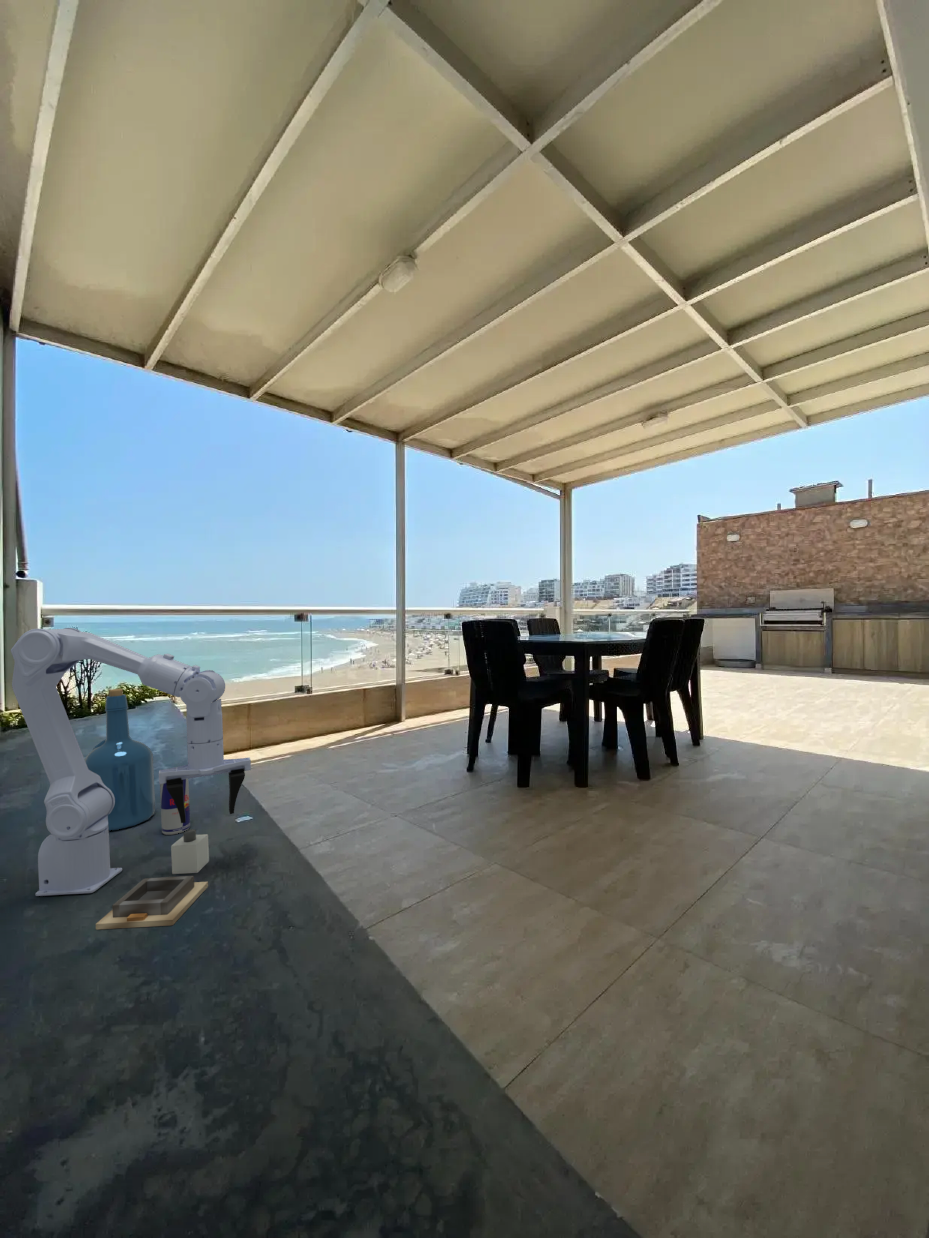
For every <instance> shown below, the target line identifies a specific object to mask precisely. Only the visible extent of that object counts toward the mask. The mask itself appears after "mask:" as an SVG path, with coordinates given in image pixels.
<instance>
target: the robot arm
mask: <svg viewBox="0 0 929 1238" xmlns="http://www.w3.org/2000/svg"><path fill="white" fill-rule="evenodd" d="M10 653H11V655H12V658H13V660H14V664H13V672H12V673H13V674H12V678H11V679H12V680H11V686H12V691H13V694H14V697H15V699H16V701H17V704H18V707H19V708H20V711H21V713H22V716H23V719H24V721H25V723H26V725H27V728H28V731H29V734H30V737H31V739H32V742H33V744H34V746H35V750H36V751H37V754H38V756H39V759H40V761H41V764H42V767H43V770H44V772H45V774H46V777H47V779H48V782H49V785H50V786H49V788H48V791H47V793H46V795H45V798H44V801H43V803H44V806H45V809H46V816H45V817H46V818H45V825H46V829H47V831H48V832H49V833H50V834H49V835H48V836H46V838H44V840H43V841H42V843H41V845H40V846H39V849H38V855H37V869H38V870H37V871H38V888H39V889H38V890H37V892H35V896H36V897H39V896H40V897H43V896H44V897H45V896H59V895H60V896H61V895H79V894H92V893H94V892H96V891H97V890H99V889H100V888H101V887H102V886H104V885H105V884H106V883H108V882H109V881H111V880H112V879H113V878H114V877H115V876H117V875H118V874H120V873H121V872H122V871H123V868H122V867H111V859H110V855H111V852H110V835H109V833H110V831H109V829H108V814H110V812H111V811H112V810H113V808H114V805H115V797H114V794H113V793H112V791H111V790H110V789H109V788H107V787H106V786H105V785H104V784H103V782H102V780H101V777H100V776H99V775H97V774H96V773H94V772H92V771H90V770H89V769H88V767H87V765H86V762H85V756H84V755H83V752H82V749H81V747H80V744H79V742H78V739H77V737H76V735H75V731H74V729H73V727H72V724H71V722H70V719H69V717H68V715H67V711H66V709H65V706H64V704H63V701H62V699H61V696H60V693H59V691H58V689H57V685H58V684H59V682H60V681H61V680H62V678H63V677H64V675H65V673H66V672H67V671H69V670H70V669H71V668H73V667H74V666H75V665H77V664H78V663H79V662H80V661H83V660H84V661H85V660H93V661H95V662H98V663H100V664H104V665H108V666H111V667H114V668H116V669H120V670H123V671H126V672H129V673H132V674H135V675H137V676H138V678H139V680H140V682H141V683H142V685H143V686H147V687H149V688H152V689H155V690H157V691H160V692H163V693H165V694H168V695H170V696H174V697H176V698H180V699H181V702H183V704H185V706H186V707H185V708H186V709H185V710H186V740H187V741H186V744H187V746H186V749H187V764H184V765H180V766H176V767H175V766H174V767H171V768H165V769H159V770H158V784H159V785H160V784H163V783H167V784H166V785H167V786H166V788H167V790H168V792H169V794H170V795H171V797H172V799H173V800H174V802H175V804H176V807H177V809H178V812H179V815H180V819H181V823H186V814H185V805H184V790H183V779H188V780H189V779H193V778H201V777H207V776H214V775H221V774H227V773H228V786H229V787H228V789H229V796H228V812H229V815H233V814H235V806H236V801H237V798H238V795H239V793H240V792H239V791H240V790H241V787H242V784H243V782H244V781H245V776H246V772H247V771H248V772H249V771H251V770H252V766H251V765H252V763H251V762H252V761H251V757H240V758H227V759H224V758H225V757H224V754H225V753H224V731H223V729H224V728H223V726H224V725H223V723H224V722H223V721H224V720H223V711H222V709H223V708H222V699H221V698H222V696H223V695H224V693H225V690H226V683H225V680H224V678H223V676H222V675H220V674H219V673H217V672H216V671H215V670H211V669H207V670H203V671H201V670H200V669H201V666H200V665H196V664H195V665H192V666H191V665H189V664H186V663H184V662H181V661H179V660H176V659H175V655H173V654H170V653H164V654H161V653H160V654H159V653H158V654H155V655H152V656H150V657H148V656H145V655H143V654H140V653H138V652H136V651H134V650H131V649H129V648H126V647H124V646H121V645H120V644H118V643H114V642H112V641H110V640H108V639H106V638H103V637H100V636H98V635H96V634H94V633H91V632H87V631H81V630H80V629H78V628H75V627H74V628H73V627H65V628H50V629H49V628H48V629H47V628H32V629H30V630H27V631H26V632H24V633H23V634H22V635H20V637H19V638H18V640H17V641H16V642H15V644H14V645H13V646H12V648H11V649H10Z"/></svg>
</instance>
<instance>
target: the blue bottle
mask: <svg viewBox="0 0 929 1238" xmlns="http://www.w3.org/2000/svg"><path fill="white" fill-rule="evenodd" d="M108 693H109V694H108V695H107V696H106V699H105V707H104V708H105V709H104V711H105V713H106V715H105V719H106V720H105V721H106V722H105V723H106V724H105V725H106V726H105V727H106V728H105V729H106V730H105V738H106V739H104V740H102V741H101V742H99V743H98V744H96V745H95V746H94V747H93V748H92V750H91V751H89V753H88V754H87V755H86V756H85V757H84V759H85V762H86V765H87V767H88V769H89V770H90V771H92V772H94V773H96V774H97V775H99V776H100V777H101V780H102V782H103V784H104V785H105V786H106V787H107V788H109V789H110V790H111V791H112V793H113V794H114V797H115V805H114V808H113V810H112V811H111V812H110V814H108V829H109V832H110V831H111V830H112V831H119V829H120V830H124V829H126V828H131V827H135V826H137V825H139V824H141V823H143V822H145V821H148V820H149V819H150V818H151V817H153V815H154V814H155V812H156V797H155V775H154V774H155V773H154V772H155V771H154V754H153V751H152V750H151V748H150V747H149V746H148V745H146V744H145V743H143V742H141V741H138V740H134V739H132V738H131V737H130V729H129V726H130V725H129V714H128V709H129V706H128V700H127V695H126V694H123V693H124V692H123V689H122V688H113V689H110V690H109V692H108Z"/></svg>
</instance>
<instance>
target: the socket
mask: <svg viewBox="0 0 929 1238" xmlns="http://www.w3.org/2000/svg"><path fill="white" fill-rule="evenodd" d="M208 887H209V881H199V882H197V881H195V875H184V876H183V875H182V876H163V877H148V878H147V877H146V878H142V880H141V881H139V882H138V883H137V884H136V885H135V886H133V887H132V888H131V889H130V890H128V892H126V893H125V894H123V896H121V897H120V898H119V899H118V900H117V901H116V902H114V903H113V904H112V907H111V908H112V909H111V910H109V912H108V913H106V914H105V915H104V916H103V917H102V918H101V919H100V920H99V921H97V922H96V923H95V930H113V929H115V930H116V929H128V928H129V929H132V928H148V927H162V926H163V927H166V926H174V924H176V923H177V922H178V920H180V918H181V917H182V916H183V915H184V914H185V912H186V911H187V910H188V909H189V908H190V907H191V906H193V904H194V903H195V902H196V901H197V899H198V898H199V897H200V896H201V895H202V894H203V892H205V891H206V890H207V889H208Z"/></svg>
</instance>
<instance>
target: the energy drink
mask: <svg viewBox="0 0 929 1238" xmlns="http://www.w3.org/2000/svg"><path fill="white" fill-rule="evenodd" d="M166 784H167V783H163V784H159V794H160V795H159V796H160V799H159V800H160V817H161V818H160V820H161V833H162V834H163V835H165V836H172V835H173V836H174V835H178V833H179V834H181V833H182V834H183V832H184V831H186V830H190V828H191V812H190V811H191V809H190V790H189V788H190V787H189V786H190V785H189V779H183V790H184V805H185V814H186V823H181V819H180V815H179V812H178V809H177V807H176V804H175V802H174V800H173V799H172V797H171V795H170V794H169V792H168V790H167V788H166V786H167V785H166Z"/></svg>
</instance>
